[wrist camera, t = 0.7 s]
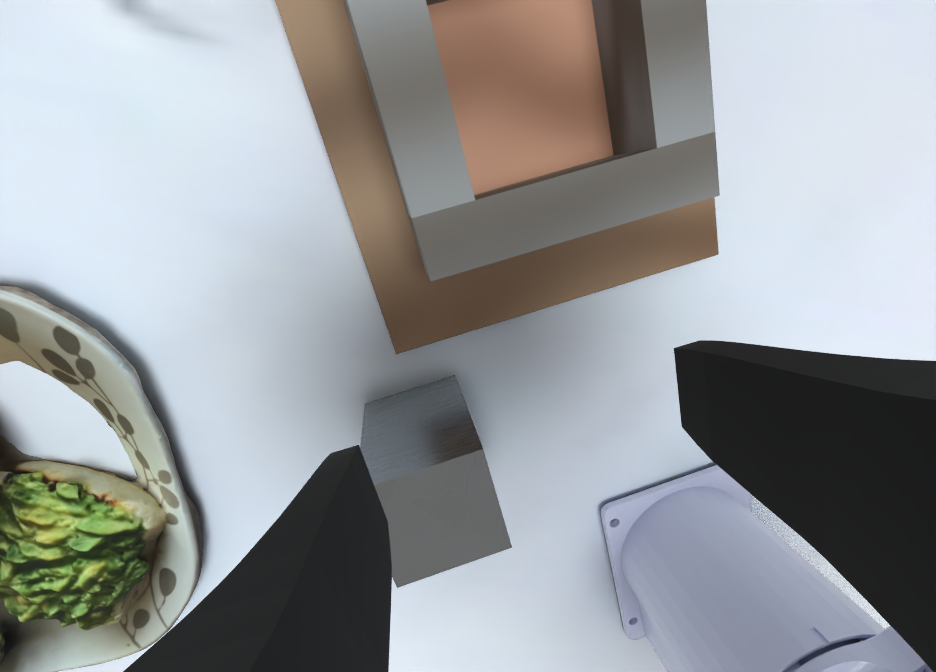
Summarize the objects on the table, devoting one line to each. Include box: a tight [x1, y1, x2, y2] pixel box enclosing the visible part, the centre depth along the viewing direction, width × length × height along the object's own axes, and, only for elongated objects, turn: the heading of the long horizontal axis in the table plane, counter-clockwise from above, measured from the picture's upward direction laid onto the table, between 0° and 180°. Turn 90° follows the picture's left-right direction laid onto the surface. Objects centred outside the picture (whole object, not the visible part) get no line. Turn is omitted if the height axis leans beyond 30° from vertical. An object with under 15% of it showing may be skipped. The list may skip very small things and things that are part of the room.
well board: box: [275, 0, 719, 354], centre depth 15 cm, size 16×14×4 cm
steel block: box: [360, 375, 512, 588], centre depth 17 cm, size 4×4×6 cm
